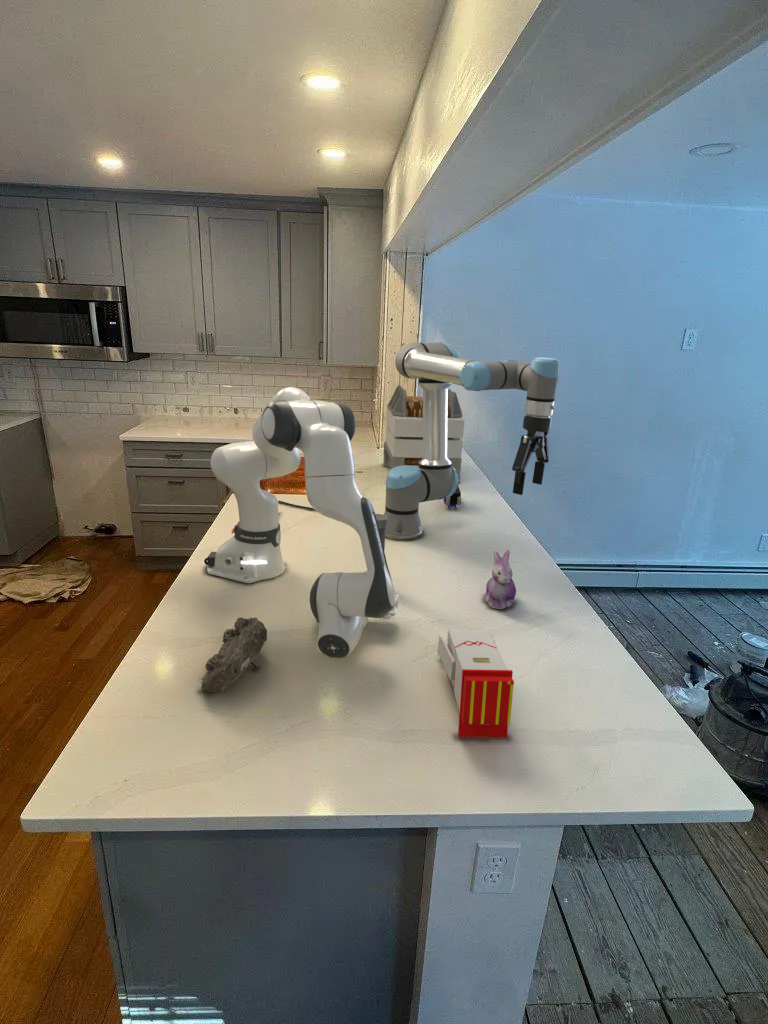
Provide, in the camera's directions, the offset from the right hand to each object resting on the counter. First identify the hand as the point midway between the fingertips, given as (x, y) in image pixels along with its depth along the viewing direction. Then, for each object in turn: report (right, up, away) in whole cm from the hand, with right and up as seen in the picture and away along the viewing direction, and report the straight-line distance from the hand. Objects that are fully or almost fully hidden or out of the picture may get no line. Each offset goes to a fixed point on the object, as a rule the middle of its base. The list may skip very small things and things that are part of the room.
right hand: (527, 488), depth 164 cm
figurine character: (-14, -4, +67) cm, 69 cm away
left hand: (-47, -26, -16) cm, 56 cm away
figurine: (-10, -32, -8) cm, 34 cm away
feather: (-81, -8, +47) cm, 94 cm away
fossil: (-73, -40, -41) cm, 93 cm away
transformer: (-24, +12, +111) cm, 114 cm away
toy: (-24, -44, -46) cm, 68 cm away
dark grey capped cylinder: (-44, -28, -1) cm, 52 cm away
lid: (-43, -9, -8) cm, 45 cm away
